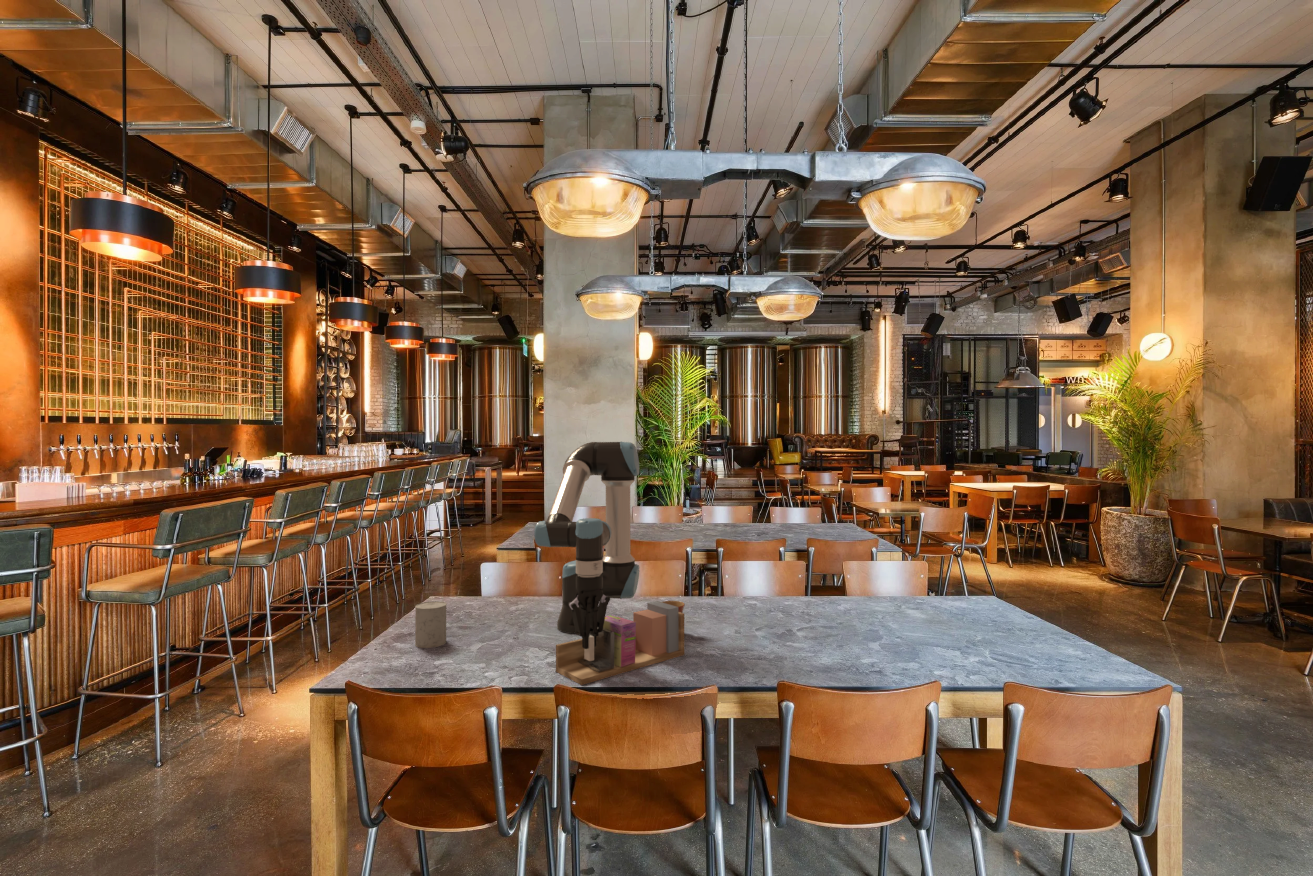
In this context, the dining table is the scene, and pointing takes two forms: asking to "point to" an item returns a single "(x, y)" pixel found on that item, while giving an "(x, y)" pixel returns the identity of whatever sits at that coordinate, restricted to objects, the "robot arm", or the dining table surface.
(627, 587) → the robot arm
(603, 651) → the bookend
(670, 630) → the row books
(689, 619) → the dining table surface
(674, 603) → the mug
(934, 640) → the dining table surface
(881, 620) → the dining table surface
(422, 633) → the grey stone cylinder
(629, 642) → the box
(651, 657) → the wooden desk organizer
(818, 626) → the dining table surface
